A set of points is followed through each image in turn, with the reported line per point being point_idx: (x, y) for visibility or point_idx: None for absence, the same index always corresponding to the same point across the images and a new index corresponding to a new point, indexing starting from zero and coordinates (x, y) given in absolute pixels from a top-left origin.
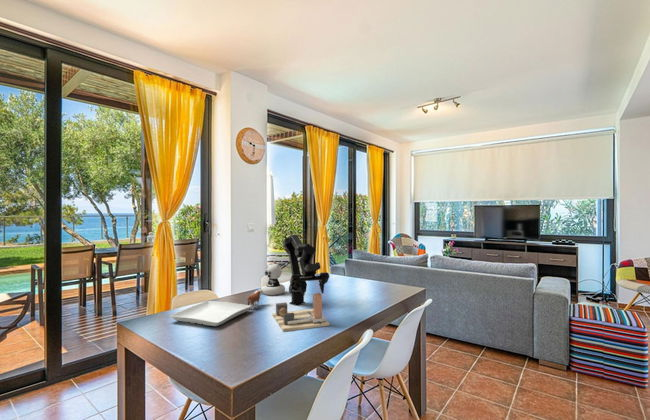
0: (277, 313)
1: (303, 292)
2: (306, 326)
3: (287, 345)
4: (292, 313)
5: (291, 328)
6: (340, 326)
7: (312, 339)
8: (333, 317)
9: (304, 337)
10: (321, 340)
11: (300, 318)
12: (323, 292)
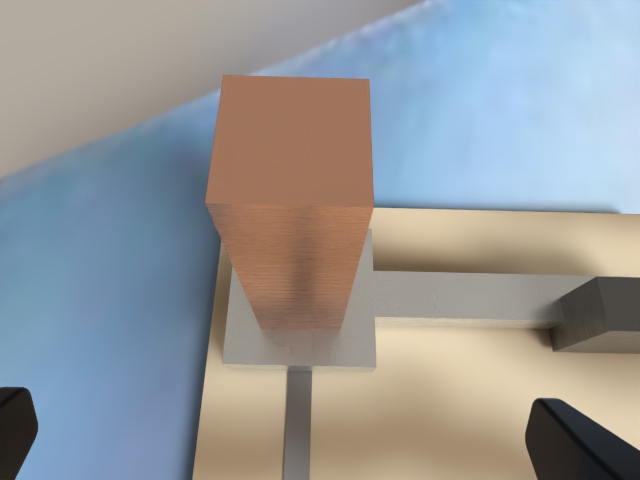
0: None
1: (595, 423)
2: (438, 211)
3: (594, 26)
4: (617, 300)
5: (570, 214)
6: (160, 165)
7: (437, 45)
8: (72, 410)
9: (480, 84)
10: (388, 19)
11: (489, 313)
12: (3, 391)
